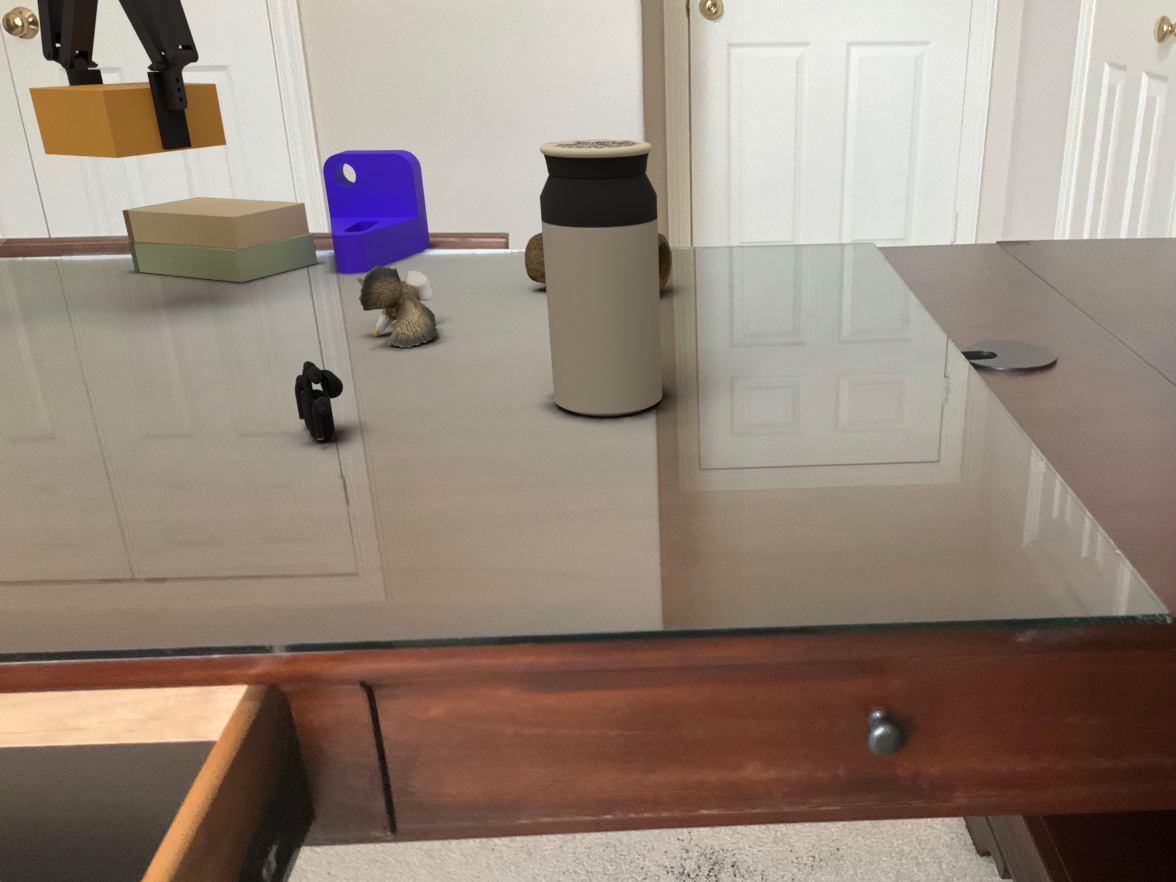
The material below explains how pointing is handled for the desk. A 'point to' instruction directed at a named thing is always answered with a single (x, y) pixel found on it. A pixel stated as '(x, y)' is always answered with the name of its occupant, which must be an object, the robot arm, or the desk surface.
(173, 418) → the desk surface
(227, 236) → the beige and green block
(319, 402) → the wireless earbuds
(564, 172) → the travel mug
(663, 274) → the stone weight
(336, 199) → the bracket
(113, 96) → the orange block
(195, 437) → the desk surface
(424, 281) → the eagle figurine
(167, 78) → the robot arm
